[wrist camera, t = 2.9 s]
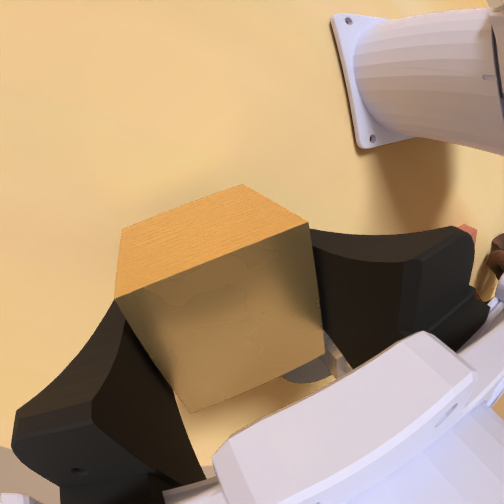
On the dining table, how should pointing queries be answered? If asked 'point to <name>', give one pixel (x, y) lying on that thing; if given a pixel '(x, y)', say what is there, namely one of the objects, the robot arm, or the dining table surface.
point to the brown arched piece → (496, 259)
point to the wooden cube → (221, 294)
